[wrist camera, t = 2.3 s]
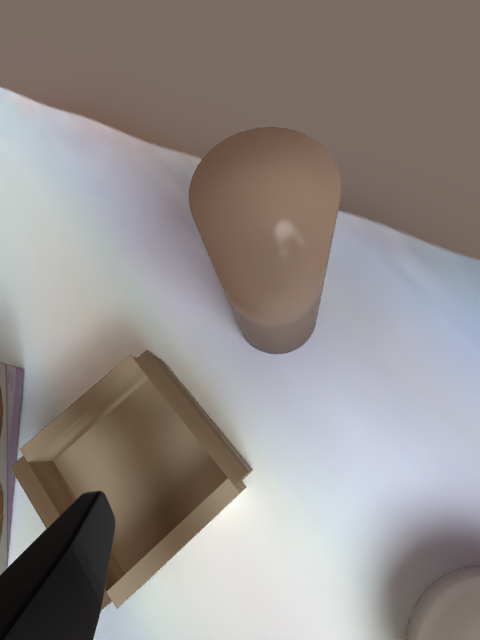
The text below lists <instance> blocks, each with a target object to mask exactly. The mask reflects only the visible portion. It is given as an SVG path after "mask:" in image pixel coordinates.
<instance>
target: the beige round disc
mask: <svg viewBox="0 0 480 640" xmlns="http://www.w3.org/2000/svg"><path fill="white" fill-rule="evenodd" d="M405 640H480V566H470V567H464V568H460V569H457V570H454V571H452V572H449V573H447V574H445V575H443V576H442V577H440V578H439V579H437V580H436V581H435V582H434V583H432V584H431V585H430V586H429V587H428V588H427V589H426V590H425V592H424V593H423V594H422V595H421V597H420V598H419V600H418V602H417V603H416V605H415V607H414V609H413V611H412V614H411V616H410V619H409V623H408V627H407V630H406V637H405Z"/></svg>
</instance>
